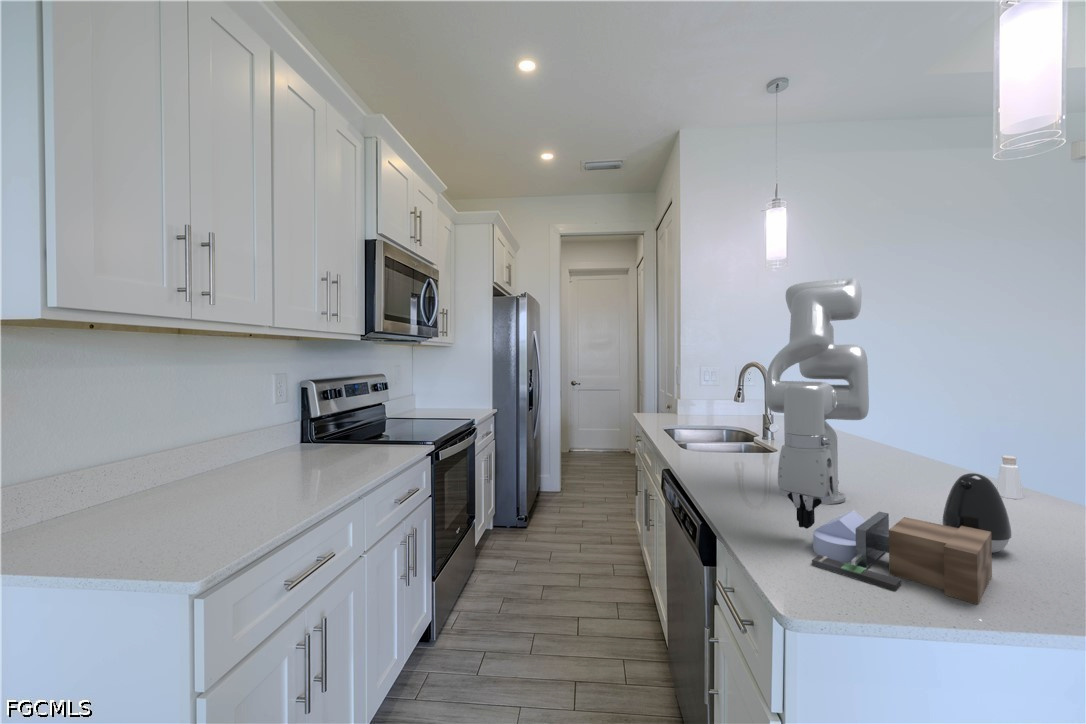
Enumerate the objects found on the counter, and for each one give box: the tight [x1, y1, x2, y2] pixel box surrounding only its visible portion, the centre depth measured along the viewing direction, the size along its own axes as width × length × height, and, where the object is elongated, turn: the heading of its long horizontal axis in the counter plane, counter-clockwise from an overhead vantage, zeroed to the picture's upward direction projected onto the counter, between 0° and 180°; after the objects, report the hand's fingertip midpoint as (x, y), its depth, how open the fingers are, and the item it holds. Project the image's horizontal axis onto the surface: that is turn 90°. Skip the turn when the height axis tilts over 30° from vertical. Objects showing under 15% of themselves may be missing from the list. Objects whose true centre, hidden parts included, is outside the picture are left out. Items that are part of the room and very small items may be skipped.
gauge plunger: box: [850, 511, 890, 569], centre depth 84 cm, size 18×10×7 cm, turn 129°
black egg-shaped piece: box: [941, 472, 1013, 554], centre depth 93 cm, size 10×10×15 cm
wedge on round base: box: [812, 509, 867, 564], centre depth 93 cm, size 9×7×13 cm
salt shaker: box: [996, 455, 1024, 500], centre depth 125 cm, size 5×5×11 cm
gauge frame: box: [811, 517, 993, 605], centre depth 84 cm, size 18×22×8 cm
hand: (805, 526), depth 98 cm, fingers closed
